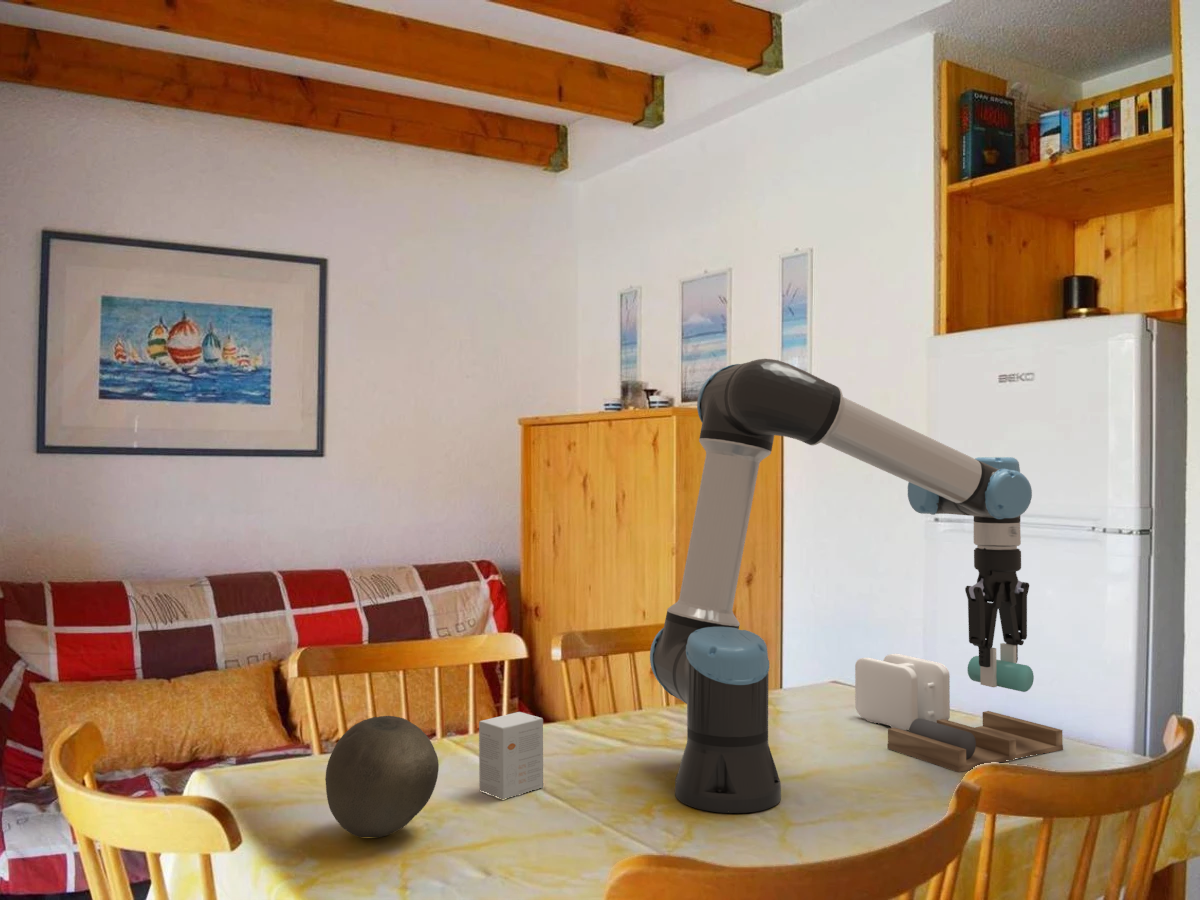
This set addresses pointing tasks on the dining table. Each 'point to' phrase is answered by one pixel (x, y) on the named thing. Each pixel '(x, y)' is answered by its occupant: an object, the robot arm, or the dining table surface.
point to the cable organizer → (901, 690)
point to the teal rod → (1005, 674)
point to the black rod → (945, 734)
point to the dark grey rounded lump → (380, 776)
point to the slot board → (980, 742)
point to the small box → (511, 754)
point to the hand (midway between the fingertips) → (998, 683)
